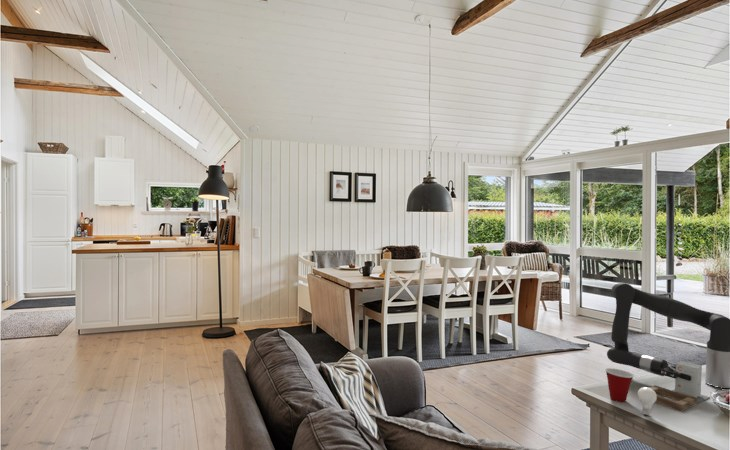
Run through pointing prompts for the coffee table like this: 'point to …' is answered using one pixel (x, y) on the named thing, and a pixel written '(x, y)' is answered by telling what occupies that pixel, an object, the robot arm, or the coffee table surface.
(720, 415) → the coffee table surface
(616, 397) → the plastic cup
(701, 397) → the mat
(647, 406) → the lightbulb
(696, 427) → the coffee table surface
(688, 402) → the holder
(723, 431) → the coffee table surface
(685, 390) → the small box
